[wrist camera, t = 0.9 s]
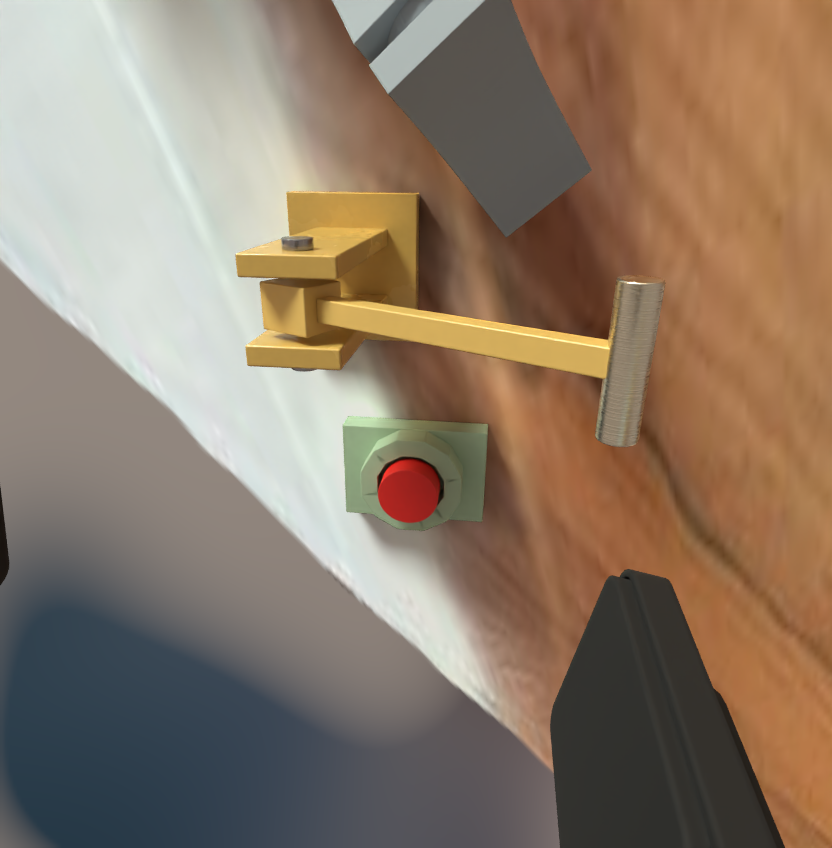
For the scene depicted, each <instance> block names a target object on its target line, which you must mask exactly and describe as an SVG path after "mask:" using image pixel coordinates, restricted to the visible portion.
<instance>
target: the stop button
mask: <svg viewBox="0 0 832 848" xmlns="http://www.w3.org/2000/svg"><path fill="white" fill-rule="evenodd" d="M439 492H440V480H439V477H438V475H437V473H436V472H435V470H434V469H433V468H432V467H431V466H430V465H428V464H427V463H425V462H423V461H421V460H417V459H411V458H407V459H401V460H398V461H396V462H394V463H392V464H391V465H390V466H389V467H388V468H387V469H386V471H385V473H384V475H383V478H382V481H381V483H380V486H379V489H378V499H379V503H380V505H381V507H382V509H383V510H384V511H385V512H386V513H387V514H388V515H389V516H390V517H392V518H393V519H395V520H398V521H401V522H405V523H415V522H420V521H422V520H424V519H426V518H428V517H429V516H430V515H431V514H432V513H433V512H434V510H435V509H436V507H437V503H438V498H439Z"/></svg>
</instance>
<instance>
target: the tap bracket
mask: <svg viewBox="0 0 832 848" xmlns="http://www.w3.org/2000/svg"><path fill="white" fill-rule="evenodd" d="M286 194H287V208H288V222H289V235H290V236H288V237H282V238H281V239H279V240H276V241H273V242H270V243H267V244H264V245H261V246H258V247H255V248H251V249H248V250H245V251H242V252H239V253H236V265H237V274H238V276H239V277H255V278H288V279H322V280H336V281H340V288H341V297H342V298H349V299H355V300H361V301H367V302H374V303H380V304H386V305H392V306H398V307H405V308H411V309H417V310H418V274H419V193H386V192H311V191H291V192H287V193H286ZM364 340H389V341H407V340H402V339H397V338H392V337H387V336H382V335H377V334H372V333H366V332H361V331H356V330H351V329H346V328H339V329H336V330H332V331H329V332H325V333H322V334H319V335H315V336H312V337H308V338H304V337H300V336H295V335H290V334H286V333H281V332H277V331H272V330H267V331H266V332H264V333H263V334H261V335H260V336H259V337H257V338H256V339H254V340H253V341H251V342H250V343H249V344H247V345H246V356H247V365H248V366H260V367H281V368H292V369H293V370H296V371H313V370H316V369H323V370H341V369H342V368H343V367H344V365H345V364H346V363H347V362H348V360H349V359H350V358H351V356H352V355H353V354H354V353H355V351H356V350H357V349H358V347H359V346H360V345H361V344H362V342H363V341H364Z"/></svg>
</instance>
